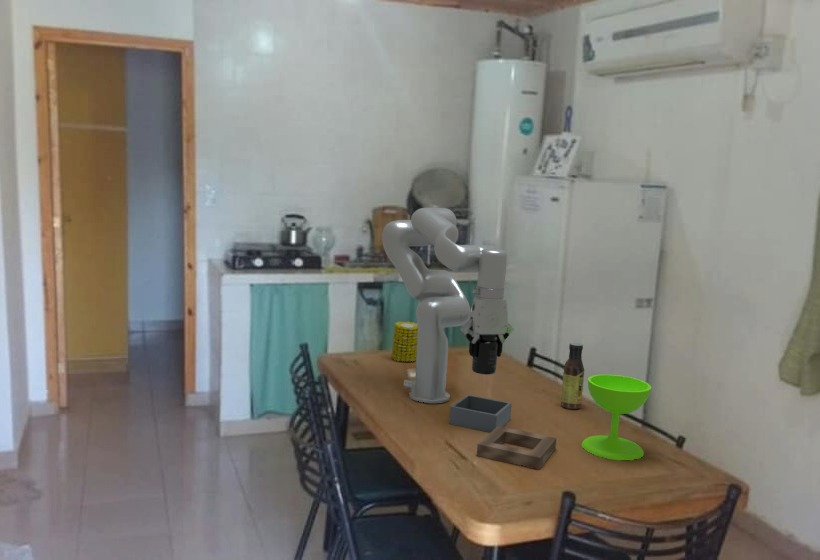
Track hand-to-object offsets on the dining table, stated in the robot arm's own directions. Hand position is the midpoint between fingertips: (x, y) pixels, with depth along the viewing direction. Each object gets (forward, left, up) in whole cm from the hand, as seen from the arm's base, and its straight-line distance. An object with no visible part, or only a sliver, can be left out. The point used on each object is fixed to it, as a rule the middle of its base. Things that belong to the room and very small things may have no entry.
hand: (485, 355), depth 211 cm
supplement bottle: (0, 0, -5) cm, 5 cm away
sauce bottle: (+19, +30, -20) cm, 41 cm away
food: (-47, +49, -20) cm, 71 cm away
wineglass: (+37, 0, -20) cm, 42 cm away
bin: (0, 0, -19) cm, 19 cm away
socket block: (+16, -17, -19) cm, 30 cm away
